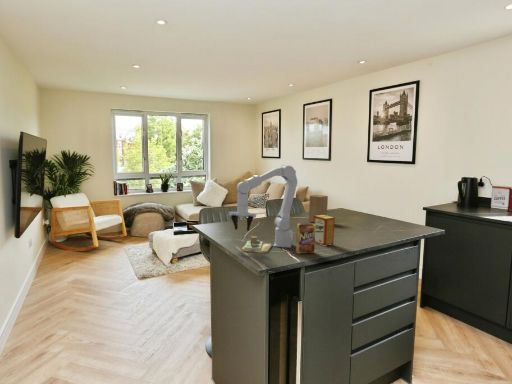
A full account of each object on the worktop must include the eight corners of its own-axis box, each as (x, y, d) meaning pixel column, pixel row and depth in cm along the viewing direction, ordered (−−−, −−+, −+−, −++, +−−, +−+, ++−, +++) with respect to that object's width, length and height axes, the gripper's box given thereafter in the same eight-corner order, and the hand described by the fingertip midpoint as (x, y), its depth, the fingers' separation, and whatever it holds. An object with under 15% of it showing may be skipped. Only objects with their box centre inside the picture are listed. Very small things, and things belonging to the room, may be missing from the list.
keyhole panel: (262, 243, 180) (262, 234, 179) (260, 250, 167) (260, 240, 166) (247, 242, 181) (247, 233, 180) (244, 249, 168) (244, 239, 167)
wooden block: (308, 222, 245) (309, 195, 242) (315, 220, 252) (316, 194, 250) (320, 224, 238) (321, 197, 236) (326, 222, 246) (328, 195, 243)
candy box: (297, 254, 165) (298, 224, 163) (295, 251, 169) (296, 222, 167) (314, 254, 165) (315, 224, 164) (312, 251, 170) (313, 222, 168)
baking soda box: (333, 245, 183) (334, 217, 182) (324, 246, 180) (326, 218, 178) (321, 241, 191) (322, 214, 190) (313, 242, 188) (314, 215, 186)
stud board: (272, 246, 178) (272, 240, 178) (266, 253, 165) (266, 246, 165) (248, 243, 181) (248, 238, 181) (241, 250, 168) (241, 244, 168)
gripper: (257, 204, 175) (257, 229, 176) (232, 202, 178) (231, 227, 180) (254, 206, 168) (253, 232, 169) (227, 204, 171) (227, 230, 173)
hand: (242, 229), depth 174 cm, fingers open, 6 cm apart
